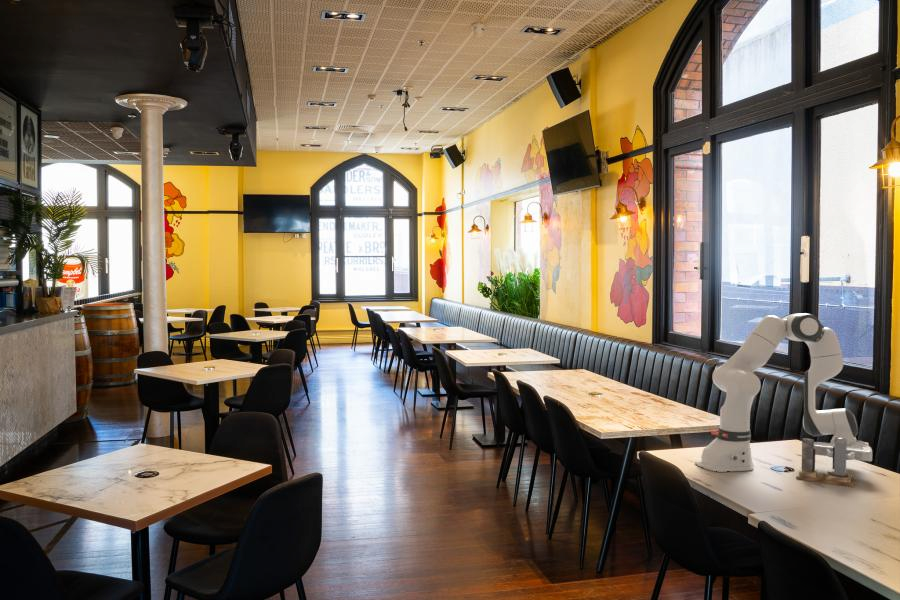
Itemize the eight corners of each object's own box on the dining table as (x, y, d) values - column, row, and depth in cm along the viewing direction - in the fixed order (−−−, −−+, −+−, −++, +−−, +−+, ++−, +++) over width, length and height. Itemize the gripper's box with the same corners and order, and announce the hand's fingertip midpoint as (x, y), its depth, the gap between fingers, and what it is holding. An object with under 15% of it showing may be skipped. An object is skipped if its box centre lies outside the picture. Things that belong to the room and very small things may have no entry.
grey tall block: (832, 474, 258) (832, 438, 257) (833, 472, 260) (833, 436, 260) (845, 476, 256) (846, 439, 255) (846, 474, 258) (846, 437, 258)
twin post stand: (796, 478, 262) (796, 440, 261) (799, 473, 269) (800, 435, 269) (853, 487, 252) (854, 447, 251) (855, 480, 259) (856, 441, 259)
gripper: (811, 436, 274) (807, 443, 262) (873, 443, 263) (871, 451, 251) (811, 452, 274) (807, 460, 263) (872, 459, 263) (871, 468, 252)
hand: (839, 456), depth 257 cm, fingers closed on grey tall block, 4 cm apart
